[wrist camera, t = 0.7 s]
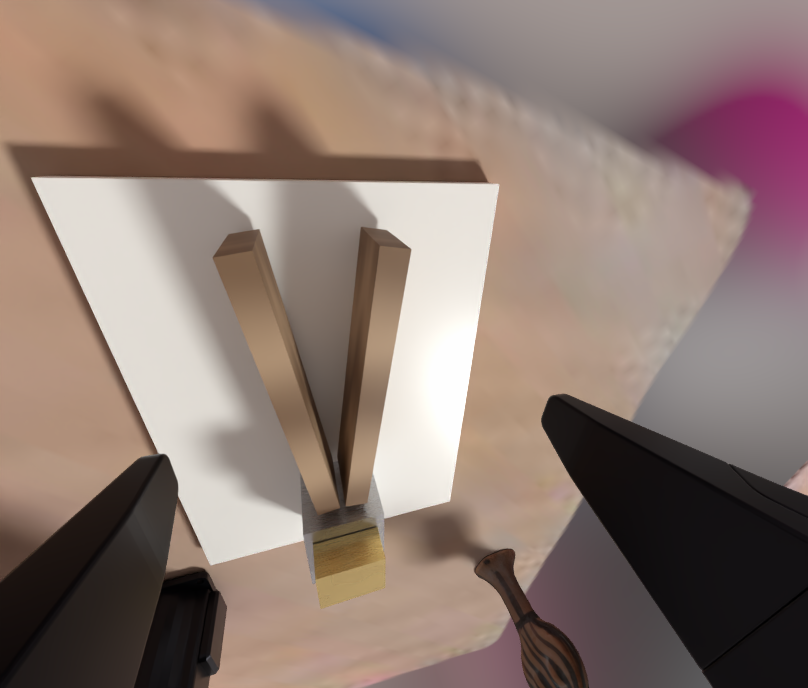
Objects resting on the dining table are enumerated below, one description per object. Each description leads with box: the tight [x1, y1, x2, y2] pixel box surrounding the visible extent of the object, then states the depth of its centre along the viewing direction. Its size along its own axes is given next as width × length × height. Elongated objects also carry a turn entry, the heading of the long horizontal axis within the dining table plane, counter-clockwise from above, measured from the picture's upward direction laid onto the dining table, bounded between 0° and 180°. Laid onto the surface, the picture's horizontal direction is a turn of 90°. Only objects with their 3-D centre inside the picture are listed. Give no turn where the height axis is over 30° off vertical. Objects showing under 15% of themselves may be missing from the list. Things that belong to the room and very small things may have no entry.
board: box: [31, 176, 499, 565], centre depth 20 cm, size 18×24×1 cm
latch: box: [313, 527, 385, 609], centre depth 19 cm, size 3×4×2 cm
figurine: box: [476, 549, 589, 688], centre depth 31 cm, size 7×5×18 cm
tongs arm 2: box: [213, 229, 340, 515], centre depth 16 cm, size 14×1×4 cm, turn 5°
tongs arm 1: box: [337, 227, 412, 506], centre depth 17 cm, size 14×1×4 cm, turn 169°
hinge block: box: [300, 461, 384, 584], centre depth 21 cm, size 5×4×4 cm
